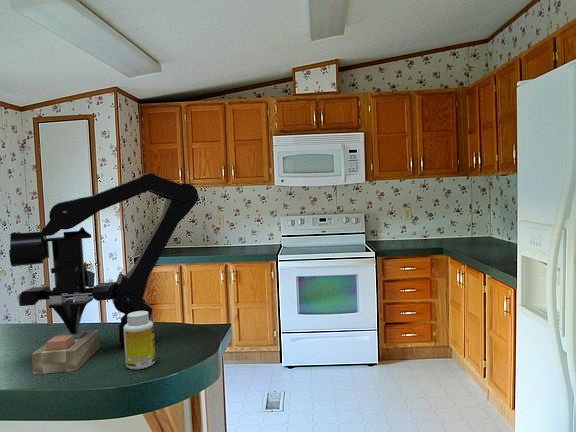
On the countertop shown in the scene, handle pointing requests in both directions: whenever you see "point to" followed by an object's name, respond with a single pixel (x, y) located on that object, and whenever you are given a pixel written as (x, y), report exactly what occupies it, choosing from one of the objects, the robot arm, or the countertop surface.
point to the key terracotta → (60, 342)
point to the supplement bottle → (139, 340)
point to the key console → (66, 355)
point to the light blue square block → (77, 334)
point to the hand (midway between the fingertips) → (74, 333)
